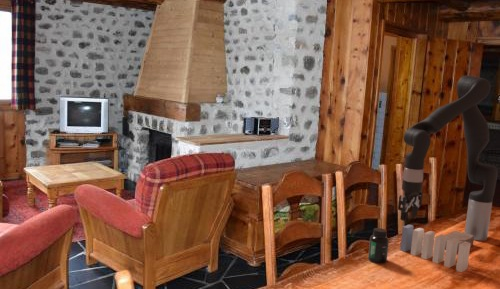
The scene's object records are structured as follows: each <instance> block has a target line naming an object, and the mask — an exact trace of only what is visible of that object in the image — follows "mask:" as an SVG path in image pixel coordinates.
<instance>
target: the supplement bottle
mask: <svg viewBox="0 0 500 289" xmlns="http://www.w3.org/2000/svg"><path fill="white" fill-rule="evenodd" d="M387 233H388V230H387V229H385V228H381V227H375V228H373V232H372V235H370V237H369V246H368V260H369V261H370V262H371V263H375V264H379V265H382V264H386V263H387V261H388V255H389V254H388V252H389V242H390V240H389V238H388V237H387V235H388V234H387Z"/></svg>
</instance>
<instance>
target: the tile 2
mask: <svg viewBox="0 0 500 289" xmlns="http://www.w3.org/2000/svg"><path fill="white" fill-rule="evenodd" d="M424 233H425V228H422V227H418V228H415V229H413V236H412V245H411V250H410V255H412V256H414V257H416V256H418V255H420V254H422V247H423V238H424Z"/></svg>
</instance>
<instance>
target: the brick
mask: <svg viewBox="0 0 500 289" xmlns="http://www.w3.org/2000/svg"><path fill="white" fill-rule="evenodd" d="M444 235H445V236H446V244H445V251H446V245H447V240H449V239H452V238H455V239H458V246H457V253H458V250H459V244H461V243H463V242H468V243H471V244H470V247H471V246H473V244H474V241H475V240H474V236H473V235H470V234H467V233H465V231H464V232H462V231H458V230H453V231H452V232H450V233H448V234H444Z"/></svg>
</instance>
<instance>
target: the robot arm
mask: <svg viewBox="0 0 500 289" xmlns="http://www.w3.org/2000/svg"><path fill="white" fill-rule="evenodd" d="M491 88H492V85H491V81H489V80H488V79H487V78H483V77H478V76H475V75H467V74H466V75H463V76H461V77H460V78H459V80H458V81H457V84H456V94H457V99H456V100H454V101H451V102H449V103H446V104H444V105H441V106H439V107H438V108H436V109H435V110H434V111H433V112H431V113H429V115H428V116H427V117H426V118H425V119H423V120H421V121H418V122H417V123H415V124H414V125H412V126H410V127H408V129H407V130H406V131H405V132H404V134H403V141H404V143H405V144H406V145H407V146H410V147H412V150H411V152H408V153H407V154H405V159H404V168H403V172H402V173H403V174H402V180H401V181H402V184H401V190H402V191H403V192H404V193H403V195H399V198H398V204H397V210H398V211H400V218H399V219H400V221H403V222H406V221H407V218H408V217H407V215H408V211H409V209H410V208H411V206H412V208H411V216H412V217H413V218H417V217H418V215H419V214H418V212H419V208H420V206H422V205H423V183H424V166H425V158H426V156H427V153H428V151H429V148H430V145H431V141H432V140H431V136H430V135H434V134H437V133H438V132H440V131H441V130H442V129H443V128H444V127H445V126H447V125H448V124H449V123H450V122H451V121H453V120H454V119H455V118H457V117H458V116H460V115H461V117H462V123H463V132H464V140H465V148H466V155H467V177H468V180H469V182H470V183H472V184H475V185H479V186H480V185H481V186H483V187H482V189H480V190H473V191H471V192H470V193H469V196H468V204H467V212H466V217H465V218H466V220H465V227H464V233H467V234H470V235H473V236H474V241H482V242H484V241H487V240H488V235H489V229H490V228H489V227H490V223H491V222H490V221H491V220H490V219H491V215H492V214H491V213H492V207H493V201H494V200H493V199H494V195H495V192H496V191H495V190H496V186H497V180H498V176H499V175H498V168H497V166H495V165H491V164H485V163H481V162H480V155H481V153H482V151H483V150H484V149H485V148H486V147H487V145H488V143H489V141H490V130H489V124H488V122H487V120H486V118H485V116H484V115H483V113H482V112H481V111H480V109H479V107H478V105H477V104H479V103H481V102H482V101H483V100H485V99H486V98H487V97H488V96H489V94H490V92H491Z"/></svg>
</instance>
